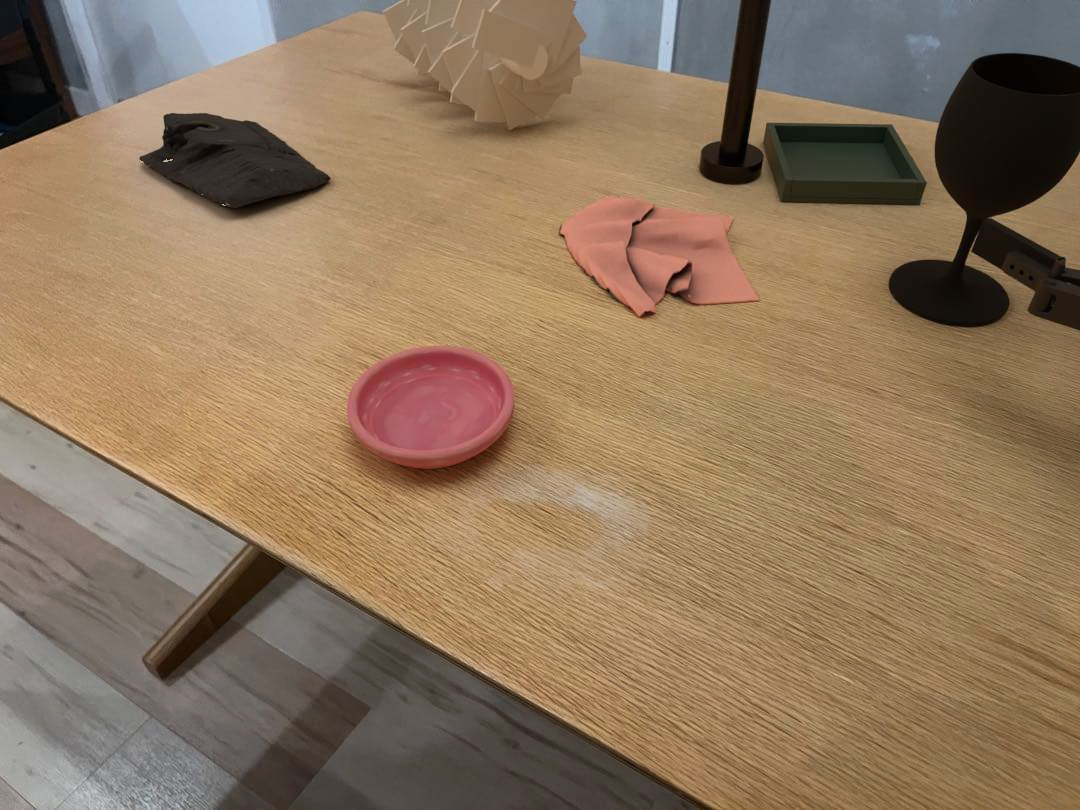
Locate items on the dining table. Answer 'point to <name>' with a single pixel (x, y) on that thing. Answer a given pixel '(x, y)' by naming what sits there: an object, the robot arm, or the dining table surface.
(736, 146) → the post
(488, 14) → the spiral staircase
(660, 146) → the dining table surface
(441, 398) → the saucer
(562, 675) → the dining table surface
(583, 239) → the cloth
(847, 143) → the tray
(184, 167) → the folded black garment
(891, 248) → the dining table surface
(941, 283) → the wine glass
